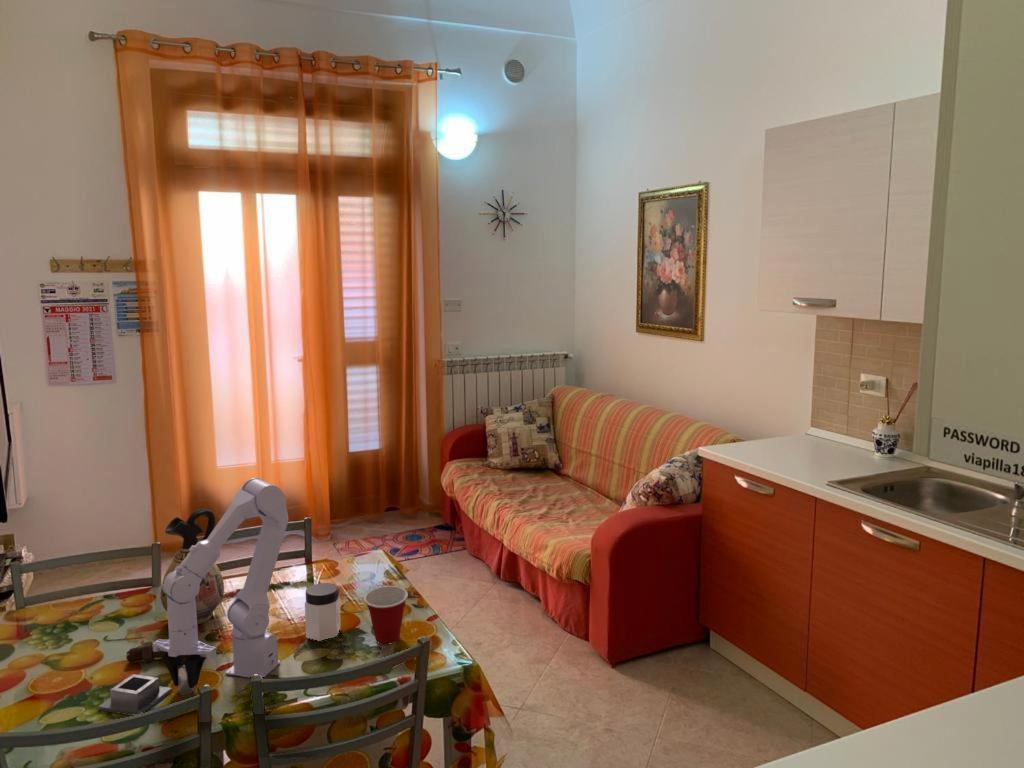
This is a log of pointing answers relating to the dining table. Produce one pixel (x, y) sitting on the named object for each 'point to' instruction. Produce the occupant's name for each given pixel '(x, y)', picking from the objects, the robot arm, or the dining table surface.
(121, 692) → the square socket base plate
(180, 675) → the pale grey cylinder
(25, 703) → the dining table surface
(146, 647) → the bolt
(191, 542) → the ceramic jug
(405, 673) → the dining table surface
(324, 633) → the jar
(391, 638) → the plastic cup
